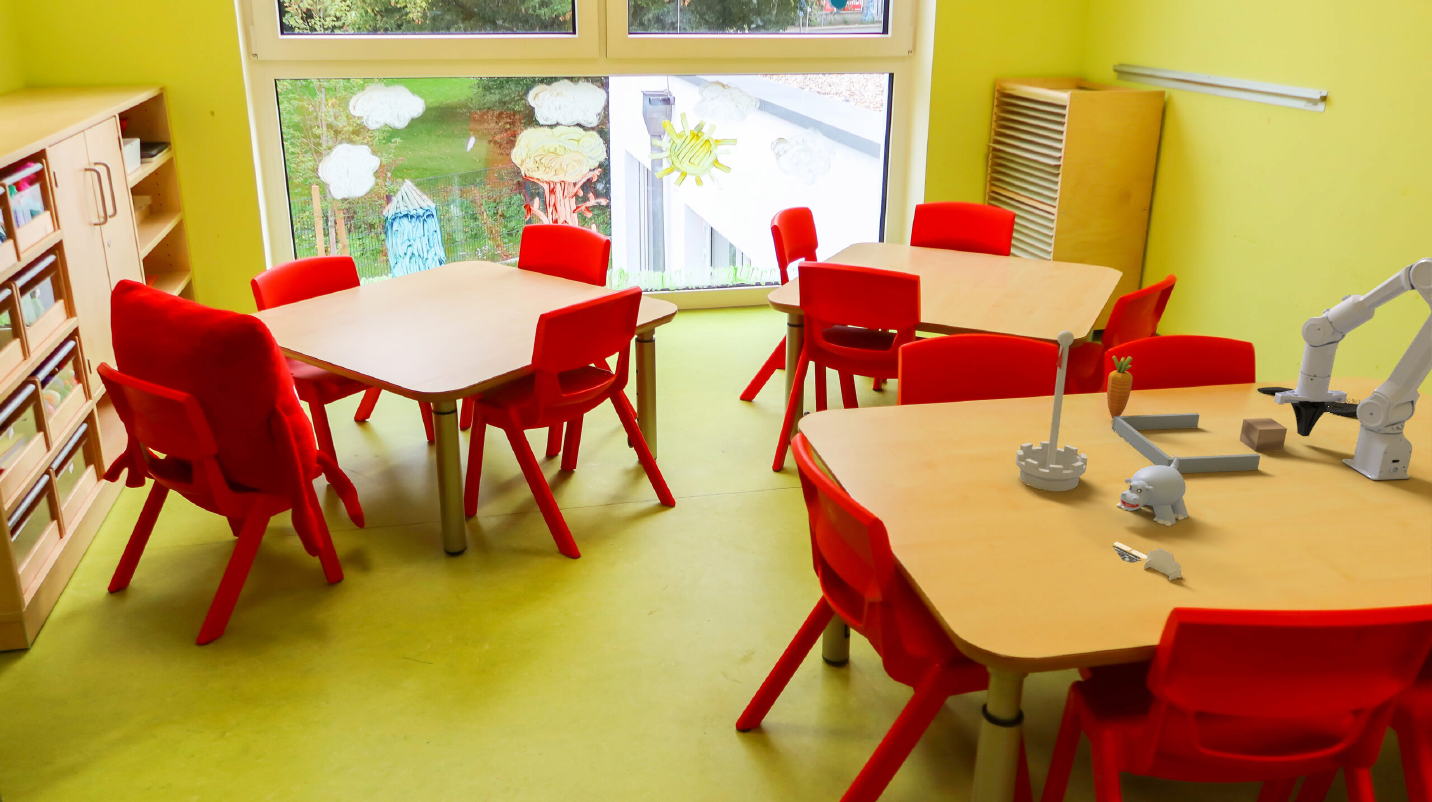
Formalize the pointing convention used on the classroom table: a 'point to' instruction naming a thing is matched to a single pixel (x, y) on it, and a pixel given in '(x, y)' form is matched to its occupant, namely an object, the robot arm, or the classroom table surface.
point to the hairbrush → (1334, 407)
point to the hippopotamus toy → (1157, 492)
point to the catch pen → (1127, 430)
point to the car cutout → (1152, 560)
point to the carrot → (1119, 387)
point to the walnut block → (1263, 434)
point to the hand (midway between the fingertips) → (1303, 434)
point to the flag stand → (1053, 443)
